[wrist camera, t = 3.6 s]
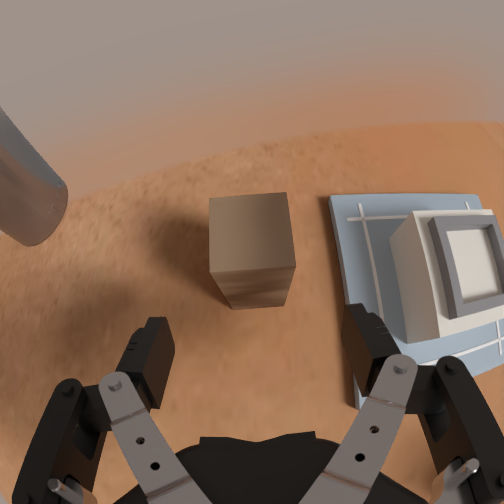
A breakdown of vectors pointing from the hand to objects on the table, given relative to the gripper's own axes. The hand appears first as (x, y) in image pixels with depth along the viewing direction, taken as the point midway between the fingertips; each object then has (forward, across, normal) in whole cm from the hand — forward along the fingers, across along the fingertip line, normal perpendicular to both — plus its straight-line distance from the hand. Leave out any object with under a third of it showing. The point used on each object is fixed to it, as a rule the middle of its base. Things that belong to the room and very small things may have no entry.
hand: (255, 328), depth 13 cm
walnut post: (+10, 0, +4) cm, 11 cm away
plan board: (+9, -16, +5) cm, 19 cm away
